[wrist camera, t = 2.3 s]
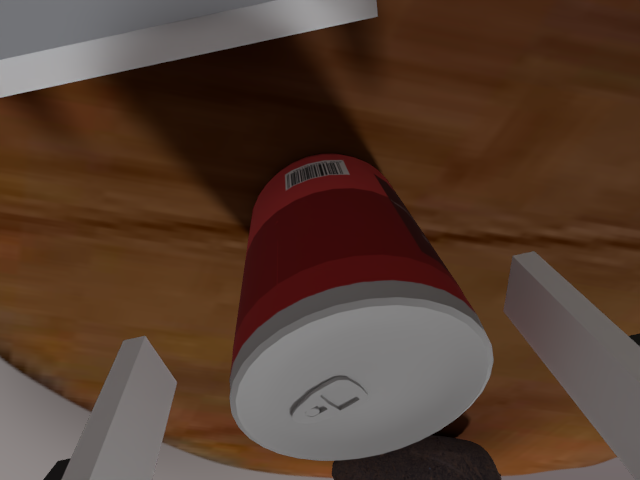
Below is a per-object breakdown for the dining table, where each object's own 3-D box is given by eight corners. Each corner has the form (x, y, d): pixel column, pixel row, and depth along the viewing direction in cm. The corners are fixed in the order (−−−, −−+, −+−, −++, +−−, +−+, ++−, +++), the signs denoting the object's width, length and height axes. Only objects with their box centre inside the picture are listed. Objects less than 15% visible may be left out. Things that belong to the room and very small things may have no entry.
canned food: (225, 234, 19) (178, 431, 10) (310, 114, 16) (351, 241, 7) (332, 290, 22) (369, 481, 13) (420, 198, 19) (548, 362, 10)
